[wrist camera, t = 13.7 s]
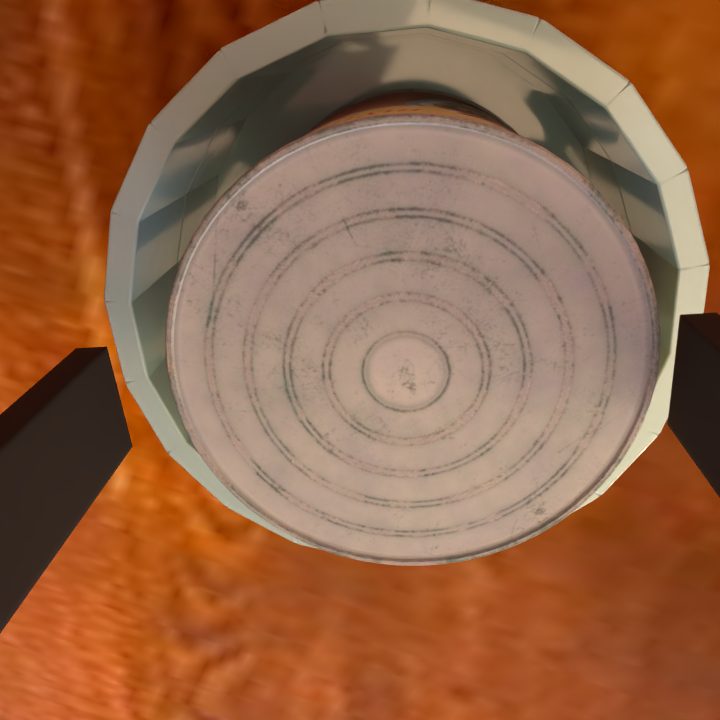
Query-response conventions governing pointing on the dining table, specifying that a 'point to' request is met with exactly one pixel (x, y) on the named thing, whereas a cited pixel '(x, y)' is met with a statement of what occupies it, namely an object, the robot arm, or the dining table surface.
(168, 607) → the dining table surface
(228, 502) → the pot
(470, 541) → the canned food
